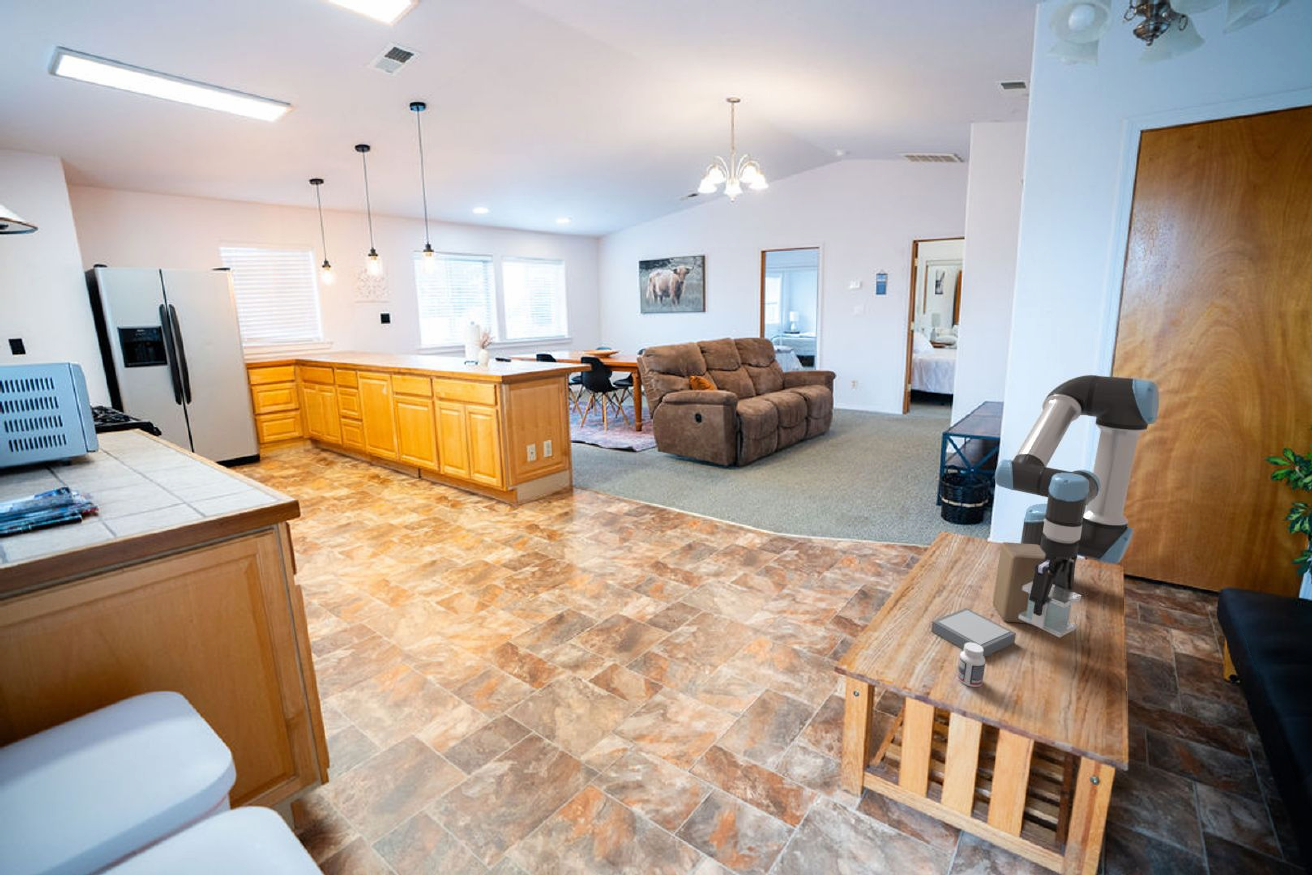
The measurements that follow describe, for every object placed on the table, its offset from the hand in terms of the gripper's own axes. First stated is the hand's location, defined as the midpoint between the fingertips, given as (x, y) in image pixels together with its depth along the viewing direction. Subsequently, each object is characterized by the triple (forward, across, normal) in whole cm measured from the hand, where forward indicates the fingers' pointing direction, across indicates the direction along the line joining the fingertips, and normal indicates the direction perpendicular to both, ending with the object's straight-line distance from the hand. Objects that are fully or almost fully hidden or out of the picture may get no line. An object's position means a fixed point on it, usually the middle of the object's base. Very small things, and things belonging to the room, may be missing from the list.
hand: (1046, 620), depth 149 cm
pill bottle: (+8, +28, -1) cm, 29 cm away
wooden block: (+9, -10, -13) cm, 19 cm away
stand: (+8, +11, -12) cm, 18 cm away
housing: (+1, 0, 0) cm, 1 cm away
